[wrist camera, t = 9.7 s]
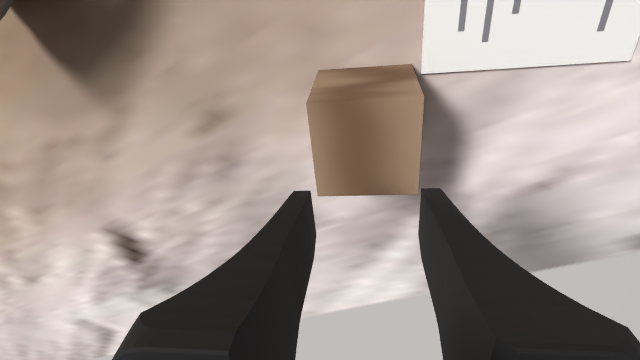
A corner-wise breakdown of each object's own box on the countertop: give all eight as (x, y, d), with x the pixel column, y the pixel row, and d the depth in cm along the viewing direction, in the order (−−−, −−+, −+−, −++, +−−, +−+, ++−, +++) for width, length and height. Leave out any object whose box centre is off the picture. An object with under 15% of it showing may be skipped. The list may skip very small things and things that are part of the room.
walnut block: (411, 63, 19) (424, 97, 15) (407, 146, 22) (417, 194, 18) (318, 69, 20) (306, 103, 16) (326, 149, 22) (317, 196, 18)
